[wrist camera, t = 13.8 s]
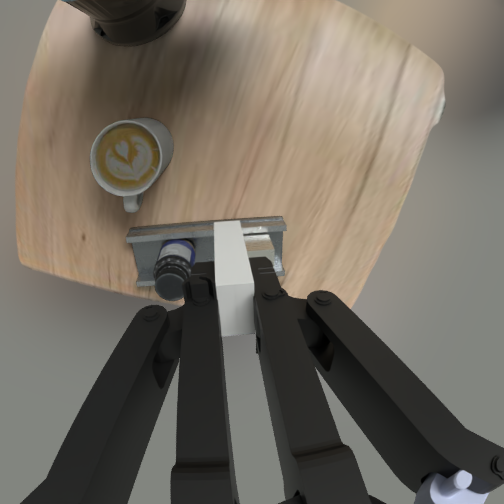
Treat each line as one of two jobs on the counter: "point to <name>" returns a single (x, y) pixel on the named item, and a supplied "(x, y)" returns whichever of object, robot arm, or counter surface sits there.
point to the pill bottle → (173, 268)
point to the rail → (206, 242)
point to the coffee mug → (131, 158)
